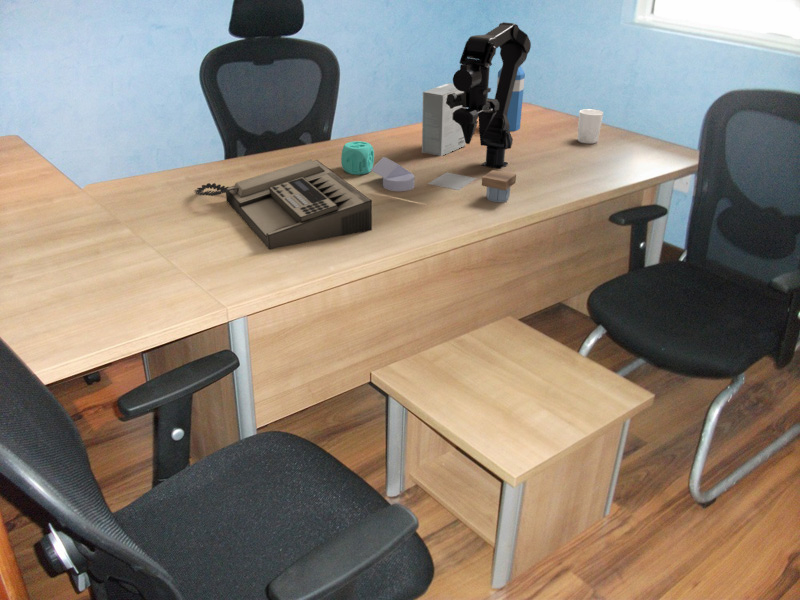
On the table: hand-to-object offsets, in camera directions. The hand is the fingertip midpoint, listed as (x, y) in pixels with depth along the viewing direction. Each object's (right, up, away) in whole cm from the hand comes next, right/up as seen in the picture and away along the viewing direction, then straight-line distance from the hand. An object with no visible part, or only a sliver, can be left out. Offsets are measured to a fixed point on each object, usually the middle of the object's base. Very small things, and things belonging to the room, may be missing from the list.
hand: (474, 139), depth 214 cm
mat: (-6, -12, +4) cm, 14 cm away
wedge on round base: (-23, -13, +1) cm, 26 cm away
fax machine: (-54, -23, -18) cm, 61 cm away
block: (+6, -14, -10) cm, 19 cm away
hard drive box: (-7, +3, +32) cm, 33 cm away
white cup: (+43, +9, +43) cm, 61 cm away
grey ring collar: (+5, -18, -8) cm, 21 cm away
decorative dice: (-34, -7, +12) cm, 37 cm away
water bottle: (+17, +16, +56) cm, 61 cm away
